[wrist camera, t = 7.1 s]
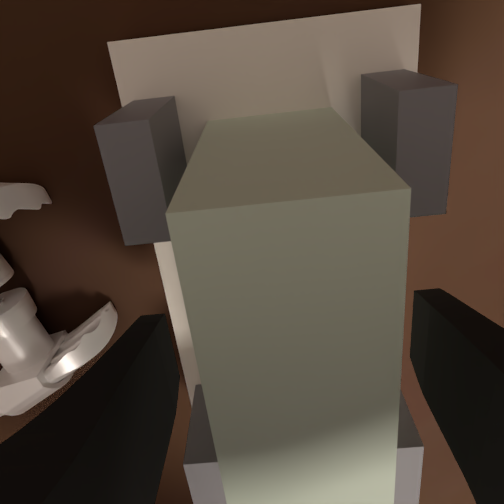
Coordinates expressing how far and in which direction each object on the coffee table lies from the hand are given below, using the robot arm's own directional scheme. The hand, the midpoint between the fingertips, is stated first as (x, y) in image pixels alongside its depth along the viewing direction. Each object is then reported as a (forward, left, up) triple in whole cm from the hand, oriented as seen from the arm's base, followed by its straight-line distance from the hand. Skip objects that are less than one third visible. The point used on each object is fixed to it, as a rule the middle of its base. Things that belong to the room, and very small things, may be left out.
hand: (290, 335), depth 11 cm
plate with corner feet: (0, 0, -3) cm, 3 cm away
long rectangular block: (0, 0, -2) cm, 2 cm away
